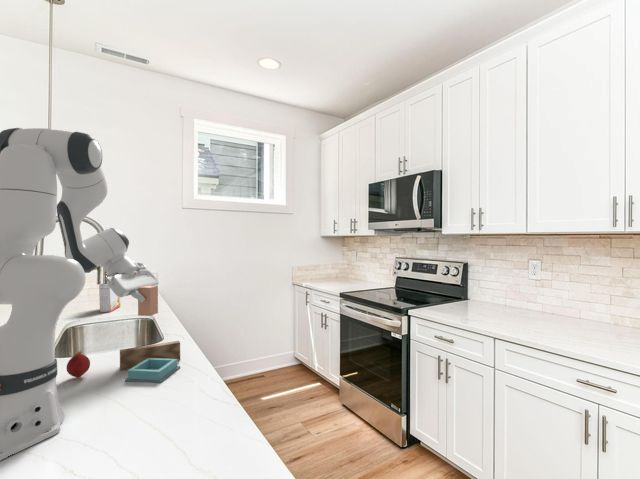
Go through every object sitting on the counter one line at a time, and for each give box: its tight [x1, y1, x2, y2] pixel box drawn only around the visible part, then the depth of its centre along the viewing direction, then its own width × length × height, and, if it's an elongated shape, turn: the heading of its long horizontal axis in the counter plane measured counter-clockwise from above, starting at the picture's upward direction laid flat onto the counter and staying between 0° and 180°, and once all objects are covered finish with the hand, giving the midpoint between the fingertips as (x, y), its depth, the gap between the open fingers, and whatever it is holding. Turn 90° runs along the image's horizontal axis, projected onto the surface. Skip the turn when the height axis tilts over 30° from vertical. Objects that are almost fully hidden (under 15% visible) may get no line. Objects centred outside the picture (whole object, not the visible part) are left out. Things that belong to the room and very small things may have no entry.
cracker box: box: [98, 281, 121, 313], centre depth 193 cm, size 14×6×21 cm, turn 10°
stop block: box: [137, 285, 159, 317], centre depth 121 cm, size 5×5×10 cm
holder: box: [124, 358, 181, 384], centre depth 104 cm, size 11×11×3 cm
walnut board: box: [119, 340, 181, 372], centre depth 113 cm, size 18×2×6 cm, turn 121°
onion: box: [66, 350, 91, 379], centre depth 102 cm, size 6×6×8 cm
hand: (149, 299), depth 121 cm, fingers closed on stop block, 5 cm apart
